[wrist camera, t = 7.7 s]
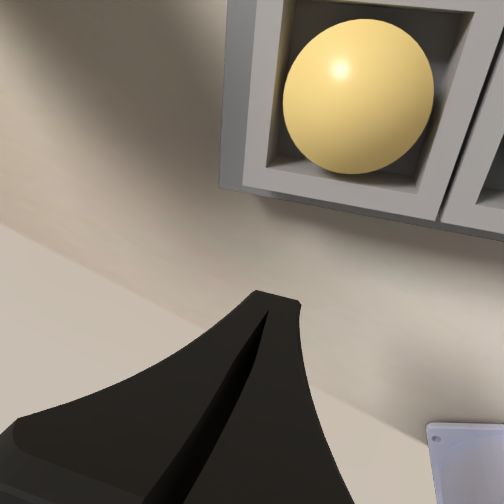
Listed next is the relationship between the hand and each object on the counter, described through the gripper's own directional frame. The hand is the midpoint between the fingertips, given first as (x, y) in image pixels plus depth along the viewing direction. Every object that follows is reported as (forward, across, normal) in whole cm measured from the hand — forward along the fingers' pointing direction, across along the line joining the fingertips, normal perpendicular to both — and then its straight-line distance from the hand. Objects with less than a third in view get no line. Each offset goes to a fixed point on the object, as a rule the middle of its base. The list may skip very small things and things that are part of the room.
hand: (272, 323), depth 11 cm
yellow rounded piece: (+6, -1, -5) cm, 8 cm away
